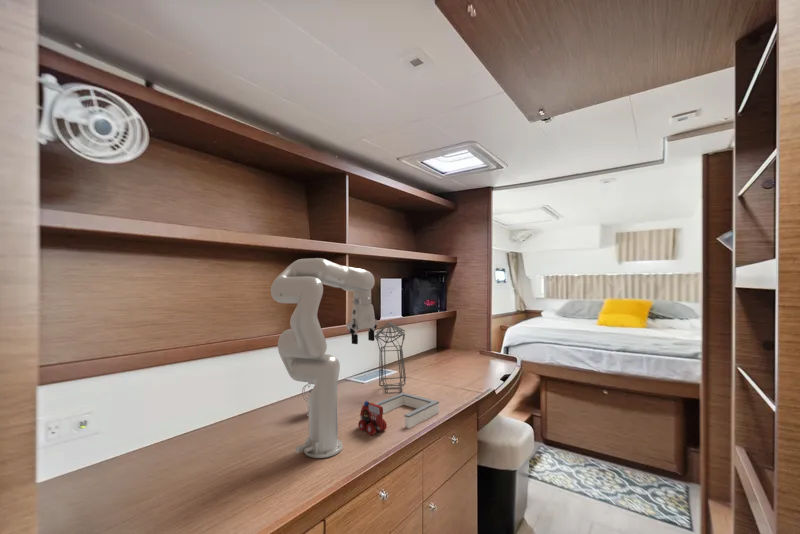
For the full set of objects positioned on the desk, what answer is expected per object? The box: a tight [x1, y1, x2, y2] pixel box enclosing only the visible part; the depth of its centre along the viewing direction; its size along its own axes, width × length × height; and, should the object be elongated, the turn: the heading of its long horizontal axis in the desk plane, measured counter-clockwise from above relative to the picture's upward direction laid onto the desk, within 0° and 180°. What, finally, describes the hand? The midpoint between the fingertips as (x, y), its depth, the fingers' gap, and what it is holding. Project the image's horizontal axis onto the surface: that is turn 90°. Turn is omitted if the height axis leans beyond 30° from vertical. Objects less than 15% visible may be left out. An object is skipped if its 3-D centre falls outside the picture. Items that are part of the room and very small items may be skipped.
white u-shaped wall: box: [374, 392, 440, 429], centre depth 146 cm, size 20×20×5 cm
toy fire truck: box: [357, 400, 388, 436], centre depth 131 cm, size 7×12×10 cm, turn 42°
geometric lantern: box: [374, 322, 407, 394], centre depth 178 cm, size 16×16×35 cm
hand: (363, 342), depth 148 cm, fingers open, 9 cm apart
